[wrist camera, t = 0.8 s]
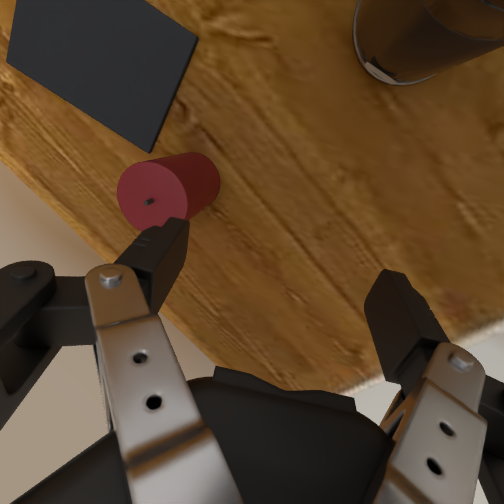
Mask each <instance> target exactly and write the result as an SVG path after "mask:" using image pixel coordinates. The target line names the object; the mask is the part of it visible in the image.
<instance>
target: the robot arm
mask: <svg viewBox="0 0 504 504" xmlns="http://www.w3.org/2000/svg"><path fill="white" fill-rule="evenodd" d="M353 43H354V48H355V52H356V55H357V57H358V60H359V62H360V63H361V65H362V67H363V68H364V69H365V70H366V71H367V72H368V73H369V74H370V75H371V76H372V77H373V78H375V79H376V80H378V81H380V82H383V83H386V84H389V85H396V86H404V85H411V84H415V83H418V82H421V81H423V80H426V79H428V78H430V77H432V76H434V75H436V74H437V73H440V72H443V71H445V70H447V69H450V68H452V67H454V66H457V65H459V64H462V63H464V62H466V61H469V60H471V59H474V58H476V57H478V56H481V55H483V54H486V53H488V52H490V51H493V50H495V49H498V48H500V47H502V46H504V0H359V2H358V5H357V7H356V11H355V15H354V20H353ZM189 227H190V222H189V221H188V220H184V219H180V218H175V217H169V219H168V220H167V221H166V222H165V223H164V225H163V226H162V227H161V226H157V225H154V226H151V227H149V228H147V229H145V230H143V231H142V233H141V234H140V235H139V236H138V237H137V238H136V239H135V240H134V241H133V242H132V244H131V245H130V246H129V247H128V248H127V249H126V250H125V251H124V252H123V253H122V254H121V256H120V257H119V258H118V259H117V260H116V261H115V262H114V263H113V264H104V265H100V266H97V267H95V268H93V269H91V270H90V271H89V272H88V273H87V274H86V276H83V277H69V276H68V277H67V276H66V277H65V276H55V273H54V269H53V267H52V266H51V265H49V264H48V263H45V262H41V261H21V262H16V263H13V264H10V265H7V266H5V267H3V268H1V269H0V430H1V429H2V428H3V426H4V425H5V424H6V422H7V421H8V420H9V418H10V417H11V416H12V414H13V413H14V411H15V410H16V409H17V407H18V406H19V405H20V403H21V402H22V401H23V399H24V398H25V396H26V395H27V394H28V392H29V391H30V390H31V388H32V387H33V386H34V384H35V383H36V382H37V380H38V379H39V377H40V376H41V375H42V373H43V372H44V371H45V369H46V368H47V366H48V365H49V364H50V362H51V361H52V360H53V358H54V357H55V356H56V354H57V353H58V352H59V350H60V349H61V347H62V346H76V345H93V351H94V356H95V361H96V367H97V372H98V378H99V383H100V388H101V393H102V400H103V407H104V413H105V419H106V424H107V430H108V434H106V435H105V436H104V437H102V438H101V439H99V440H98V441H97V442H95V443H94V444H92V445H91V446H90V447H88V448H87V449H86V450H84V451H83V452H81V453H80V454H78V455H77V456H76V457H74V458H73V459H71V460H70V461H69V462H67V463H66V464H65V465H63V466H62V467H60V468H59V469H58V470H56V471H55V472H53V473H52V474H51V475H49V476H48V477H46V478H45V479H44V480H42V481H41V482H40V483H38V484H37V485H35V486H34V487H32V488H31V489H30V490H28V491H27V492H25V493H24V494H23V495H21V496H20V497H19V498H17V499H16V500H14V501H13V502H12V503H10V504H473V500H474V495H475V490H476V484H477V479H479V481H480V484H481V486H482V489H483V491H484V493H485V496H486V498H487V500H488V503H489V504H504V383H503V382H500V381H498V380H496V379H494V378H492V377H490V376H487V375H486V374H485V370H484V368H483V366H482V365H481V363H480V362H479V361H478V360H477V359H476V358H475V357H474V356H473V355H472V354H470V353H469V352H468V351H466V350H465V349H463V348H462V347H460V346H458V345H455V344H452V343H450V341H449V339H448V338H447V336H446V334H445V332H444V331H443V329H442V327H441V326H440V324H439V322H438V321H437V319H436V318H434V317H435V316H434V314H433V312H432V310H430V307H429V305H428V304H427V302H426V300H425V299H424V297H423V296H421V295H420V294H419V293H418V292H417V291H416V290H415V289H414V288H413V287H412V286H411V284H410V282H409V280H408V279H407V277H406V275H405V274H403V273H400V272H395V271H391V270H387V269H384V270H382V271H381V273H380V274H379V276H378V278H377V279H376V281H375V283H374V285H373V286H372V288H371V290H370V292H369V293H368V295H367V297H366V299H365V303H364V312H365V315H366V319H367V322H368V325H369V328H370V332H371V335H372V338H373V341H374V345H375V348H376V351H377V354H378V357H379V361H380V364H381V367H382V370H383V374H384V377H385V380H386V381H388V382H392V383H396V384H400V385H401V390H400V391H399V392H398V393H397V394H396V396H395V398H394V400H393V401H392V403H391V405H390V407H389V409H388V410H387V412H386V414H385V416H384V418H383V420H382V421H381V423H380V425H379V426H378V425H377V424H376V423H374V422H373V421H371V420H370V419H369V418H367V417H366V416H364V415H363V414H361V413H359V412H357V410H356V406H355V400H354V398H352V397H348V396H343V395H339V394H335V393H331V392H326V391H322V390H303V391H286V390H282V389H280V388H278V387H276V386H274V385H272V384H270V383H268V382H266V381H264V380H262V379H260V378H258V377H256V376H254V375H252V374H249V373H245V372H241V371H236V370H232V369H228V368H223V367H219V366H215V370H214V375H213V377H202V378H196V379H192V380H188V381H186V379H185V376H184V374H183V372H182V369H181V367H180V365H179V362H178V360H177V357H176V355H175V352H174V350H173V348H172V345H171V343H170V340H169V338H168V336H167V333H166V331H165V329H164V326H163V324H162V321H161V319H160V317H159V315H158V312H159V310H160V308H161V306H162V304H163V303H164V301H165V299H166V297H167V295H168V293H169V292H170V290H171V288H172V286H173V284H174V282H175V280H176V279H177V277H178V275H179V273H180V271H181V269H182V268H183V265H184V262H185V259H186V254H187V245H188V236H189Z"/></svg>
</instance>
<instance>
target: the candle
mask: <svg viewBox="0 0 504 504" xmlns="http://www.w3.org/2000/svg"><path fill="white" fill-rule="evenodd" d="M219 188H220V178H219V174H218V171H217V169H216V167H215V166H214V164H213V163H212V162H211V161H210V160H209V159H208V158H207V157H205V156H203V155H201V154H198V153H184V154H179V155H174V156H169V157H164V158H159V159H154V160H149V161H144V162H139V163H136V164H133V165H132V166H130V167H129V168H127V169H126V170H125V171H124V173H123V174H122V176H121V178H120V180H119V183H118V187H117V198H118V203H119V206H120V208H121V211H122V213H123V214H124V216H125V217H126V219H127V220H128V221H129V222H130V223H131V224H132V225H133V226H134V227H135V228H137V229H138V230H140V231H143V230H145V229H147V228H149V227H151V226H154V225H157V226H161V227H162V226H163V225H164V223H165V222H166V221H167V220H168V219H169V217H175V218H180V219H184V220H190V219H191V218H192V217H193V216H195V215H196V214H197V213H198V212H200V211H201V210H202V209H203V208H205V207H206V206H207V205H208V204H210V203H211V202H212V201H213V200H214V199H215V198H216V196H217V194H218V192H219Z"/></svg>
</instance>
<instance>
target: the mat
mask: <svg viewBox="0 0 504 504" xmlns="http://www.w3.org/2000/svg"><path fill="white" fill-rule="evenodd" d="M198 39H199V38H198V37H197V36H195V35H194V34H192V33H191V32H190V31H188V30H187V29H185V28H184V27H182V26H181V25H179V24H178V23H176V22H175V21H173V20H172V19H171V18H169V17H168V16H166V15H165V14H163V13H162V12H160V11H159V10H157V9H156V8H155V7H153V6H152V5H150V4H149V3H147V2H146V1H144V0H17V1H16V7H15V13H14V19H13V24H12V30H11V36H10V42H9V48H8V53H7V59H6V62H7V63H8V64H10V65H11V66H13V67H15V68H16V69H18V70H19V71H21V72H22V73H24V74H25V75H27V76H29V77H30V78H32V79H33V80H35V81H36V82H38V83H39V84H41V85H43V86H44V87H46V88H47V89H49V90H50V91H52V92H53V93H55V94H57V95H58V96H60V97H61V98H63V99H64V100H66V101H67V102H69V103H71V104H72V105H74V106H75V107H77V108H78V109H80V110H82V111H83V112H85V113H86V114H88V115H89V116H91V117H92V118H94V119H96V120H97V121H99V122H100V123H102V124H103V125H105V126H106V127H108V128H110V129H111V130H113V131H114V132H116V133H117V134H119V135H120V136H122V137H124V138H125V139H127V140H128V141H130V142H131V143H133V144H134V145H136V146H138V147H139V148H141V149H142V150H144V151H145V152H147V153H151V151H152V149H153V146H154V144H155V142H156V139H157V137H158V135H159V132H160V130H161V127H162V125H163V123H164V120H165V118H166V116H167V113H168V111H169V108H170V106H171V104H172V101H173V99H174V96H175V94H176V92H177V89H178V87H179V85H180V82H181V80H182V77H183V75H184V73H185V70H186V68H187V66H188V63H189V61H190V58H191V56H192V54H193V51H194V49H195V47H196V44H197V42H198Z"/></svg>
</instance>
